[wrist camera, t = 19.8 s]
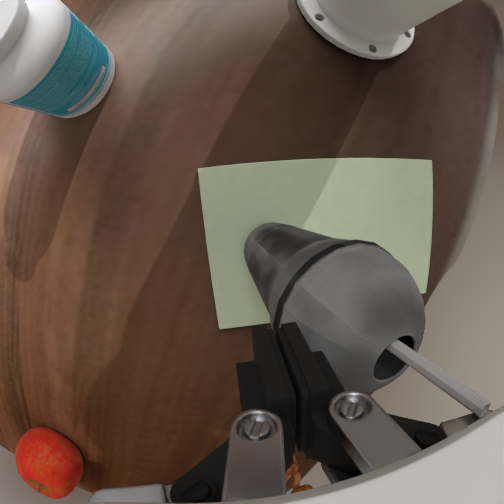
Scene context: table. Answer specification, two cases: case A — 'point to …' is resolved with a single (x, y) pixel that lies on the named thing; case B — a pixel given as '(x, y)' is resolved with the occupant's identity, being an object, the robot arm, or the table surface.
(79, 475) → the apple
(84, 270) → the table surface
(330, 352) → the beverage cup
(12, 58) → the pill bottle
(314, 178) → the mat
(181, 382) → the table surface
